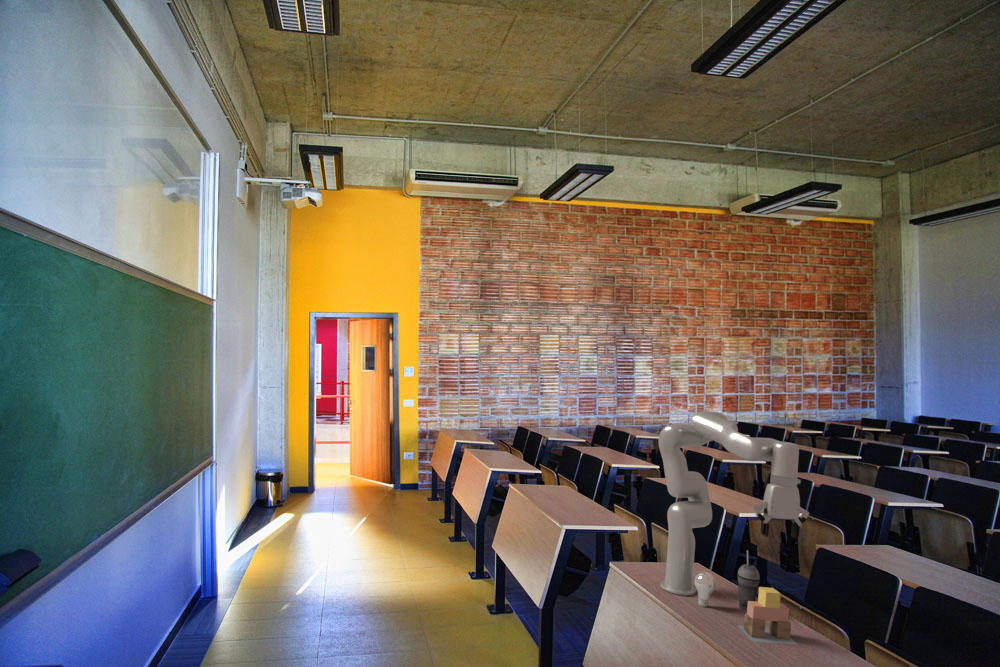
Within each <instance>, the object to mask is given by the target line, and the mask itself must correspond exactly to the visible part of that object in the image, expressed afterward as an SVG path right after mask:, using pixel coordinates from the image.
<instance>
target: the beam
mask: <svg viewBox="0 0 1000 667" xmlns="http://www.w3.org/2000/svg"><path fill="white" fill-rule="evenodd" d="M789 613H790V608H789V607H787V606H786V605H785V604H784V603H781V602H780V609H779V608H765V607H764V606H763V605H762V604H760V603H759V602H758V601H757V600H755V601H748V606H747V611H746V614H748V615H749V616H750V617H751V618H752V619H754V620H765V621H766V622H767V621H769V622H770V621H779V622H788V621H789Z"/></svg>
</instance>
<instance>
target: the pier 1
mask: <svg viewBox="0 0 1000 667" xmlns="http://www.w3.org/2000/svg"><path fill="white" fill-rule="evenodd" d="M743 624H744V625H743V626H744V630H745V631H746V632H747V633H748V634H749V635H750V636H751V637H757V638H764V635H765V627H766V620H754V619H752V618H751V617H750V616H749V615H748V614H747V612H746V613H744V623H743Z"/></svg>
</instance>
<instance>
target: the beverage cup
mask: <svg viewBox="0 0 1000 667" xmlns="http://www.w3.org/2000/svg"><path fill="white" fill-rule="evenodd" d="M749 559H750V558H749V550H746V564H742V565H741V566H740V567H739V568H738V571H737V574H736V575H737V581H738V609H740V610H742V611H744V612H747V606H748V601H757V600H756V599H757V594H758V589H759V584H760V580H761V578H760V572H759V570H758V569H757V568H756V566H754V565H753V564H750V562H749V561H750V560H749Z"/></svg>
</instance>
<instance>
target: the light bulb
mask: <svg viewBox="0 0 1000 667" xmlns="http://www.w3.org/2000/svg"><path fill="white" fill-rule="evenodd" d="M693 583H694V587H695V588H696V593H697V597H698V600H697V601H698V605H699V606H700V607H701V608H708V606H709V602H710V601H709V600H710V598H711V595H712V594H713V593H714V591H715V589H716V587H717V586H716V585H717V582H716V579H715V577H714V576H713V575H712V574H711V573H710V572H707V571H700V572H698V573H697V574H695V577H694V581H693Z"/></svg>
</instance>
